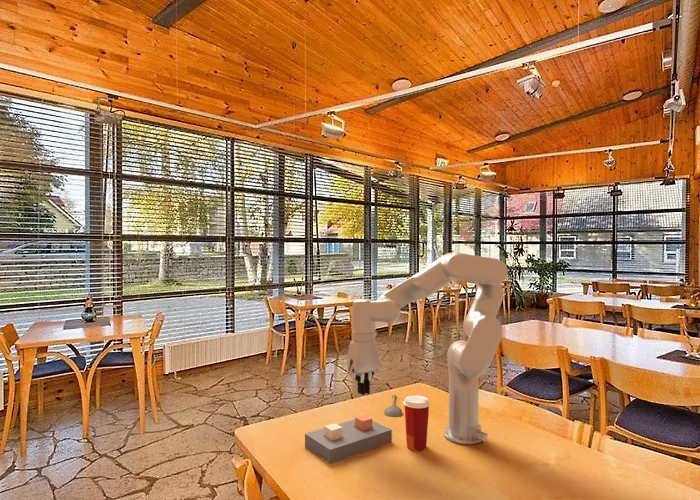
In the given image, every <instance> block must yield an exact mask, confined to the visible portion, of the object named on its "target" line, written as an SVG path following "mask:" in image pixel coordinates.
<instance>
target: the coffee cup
mask: <svg viewBox="0 0 700 500" xmlns="http://www.w3.org/2000/svg"><path fill="white" fill-rule="evenodd" d="M402 403H403V406H404V420H405V438H406V439H405V440H406V447H407V448H408V449H409V450H410V451H414V452H422V451H425V450H426V449H427V442H428V425H429V407H430V406H431V403H430V401H429V399H428V398H427V397H426V396H424V395H423V396H422V395H408V396H406V397H405V398H404V401H402Z"/></svg>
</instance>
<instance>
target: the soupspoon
mask: <svg viewBox="0 0 700 500" xmlns="http://www.w3.org/2000/svg"><path fill="white" fill-rule="evenodd" d="M396 399H398V397H397V395H396V394H394V395H392V404H391V405H392V406H388V407H386V408H385V409H384V415H385V416H386V417H389V418H400V417H402V415H403V411H402V408H400V407H399V406H396V401H395V400H396Z"/></svg>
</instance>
